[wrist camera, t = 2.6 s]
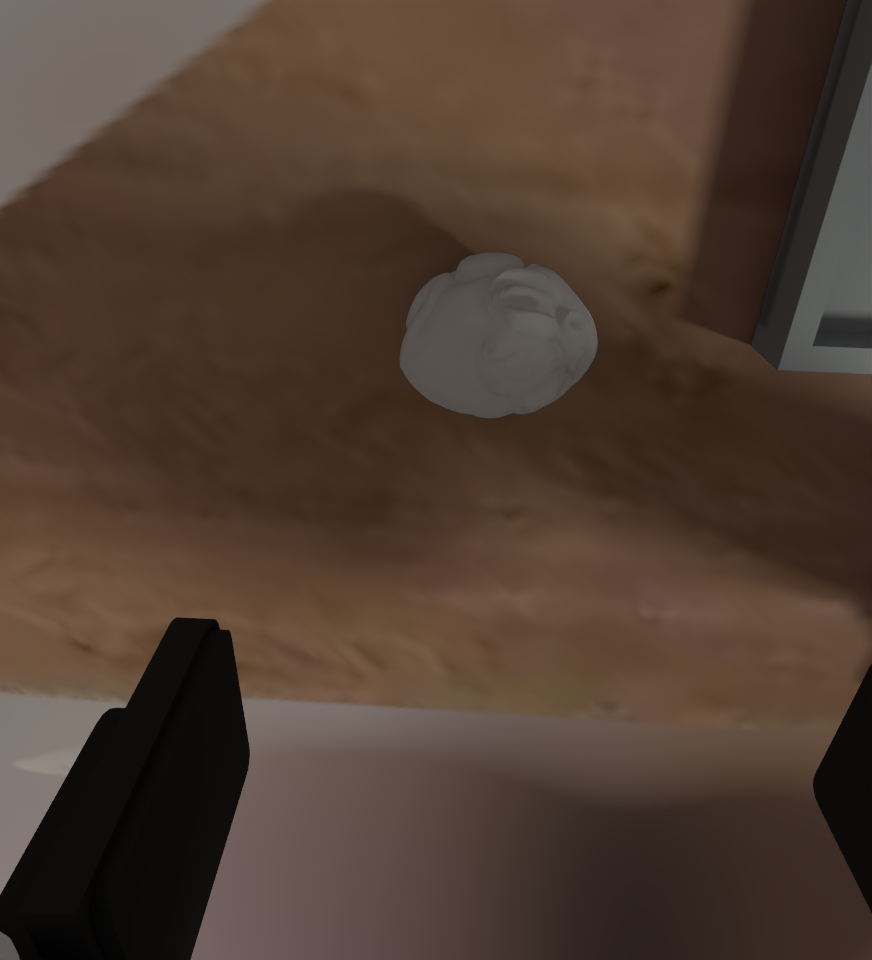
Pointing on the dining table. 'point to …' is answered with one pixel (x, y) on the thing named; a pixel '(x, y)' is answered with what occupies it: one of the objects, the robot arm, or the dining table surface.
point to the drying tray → (829, 225)
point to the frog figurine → (497, 337)
